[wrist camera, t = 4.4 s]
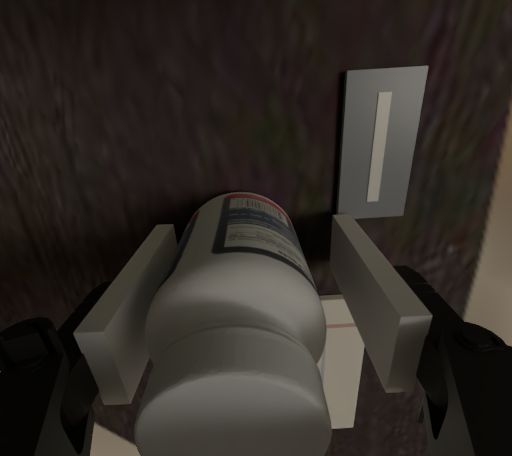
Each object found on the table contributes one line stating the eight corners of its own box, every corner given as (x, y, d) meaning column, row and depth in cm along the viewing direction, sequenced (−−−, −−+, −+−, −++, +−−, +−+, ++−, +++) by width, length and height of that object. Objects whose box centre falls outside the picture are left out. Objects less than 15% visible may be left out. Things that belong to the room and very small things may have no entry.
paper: (199, 302, 15) (198, 308, 15) (368, 292, 15) (371, 297, 15) (222, 428, 20) (221, 435, 19) (351, 421, 20) (353, 427, 19)
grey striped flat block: (345, 71, 11) (347, 70, 10) (423, 66, 11) (429, 65, 10) (335, 217, 13) (337, 220, 13) (399, 213, 13) (403, 215, 13)
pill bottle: (221, 300, 15) (189, 530, 7) (164, 221, 13) (31, 415, 5) (312, 260, 14) (395, 471, 6) (266, 168, 12) (299, 303, 4)
